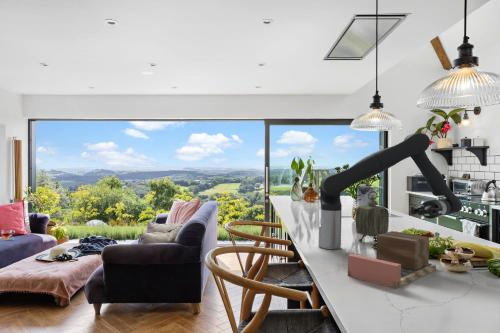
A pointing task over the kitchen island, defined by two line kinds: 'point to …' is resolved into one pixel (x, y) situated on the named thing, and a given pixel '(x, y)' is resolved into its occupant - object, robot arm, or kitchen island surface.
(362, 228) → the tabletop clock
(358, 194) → the juice carton
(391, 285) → the roller track
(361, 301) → the kitchen island surface
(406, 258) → the brown cardboard box
